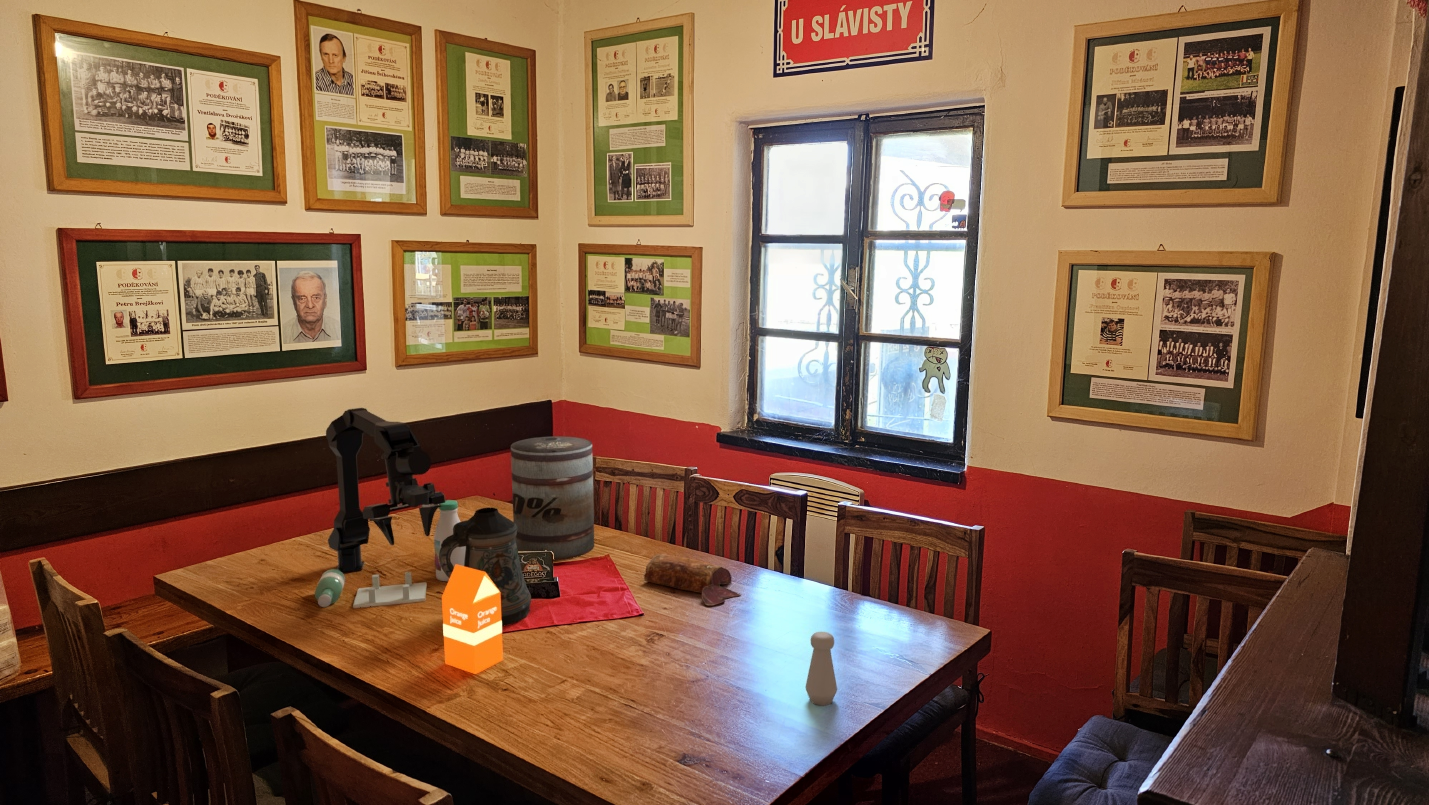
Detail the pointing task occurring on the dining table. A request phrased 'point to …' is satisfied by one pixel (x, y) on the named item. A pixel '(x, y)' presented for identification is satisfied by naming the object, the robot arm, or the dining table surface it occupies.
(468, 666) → the orange juice
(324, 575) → the bottle
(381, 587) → the white four-legged tray
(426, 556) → the dining table surface
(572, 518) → the barrel
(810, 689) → the salt shaker
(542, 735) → the dining table surface
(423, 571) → the dining table surface
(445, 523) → the milk bottle
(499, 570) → the beer stein
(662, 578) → the cured meat
